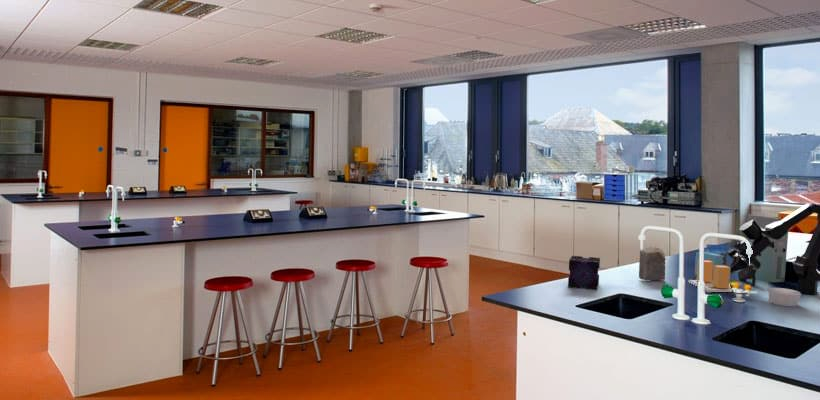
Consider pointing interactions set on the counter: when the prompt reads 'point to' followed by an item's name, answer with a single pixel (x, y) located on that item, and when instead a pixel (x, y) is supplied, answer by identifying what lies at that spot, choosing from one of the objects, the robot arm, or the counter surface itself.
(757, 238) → the robot arm
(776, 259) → the device
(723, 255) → the label tape box
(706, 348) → the counter surface
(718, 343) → the counter surface
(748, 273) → the gun
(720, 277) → the orange rectangular block
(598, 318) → the counter surface
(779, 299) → the ramekin
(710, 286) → the dip bank
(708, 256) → the data package
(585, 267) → the energy cube
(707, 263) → the tab
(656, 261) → the geological specimen
